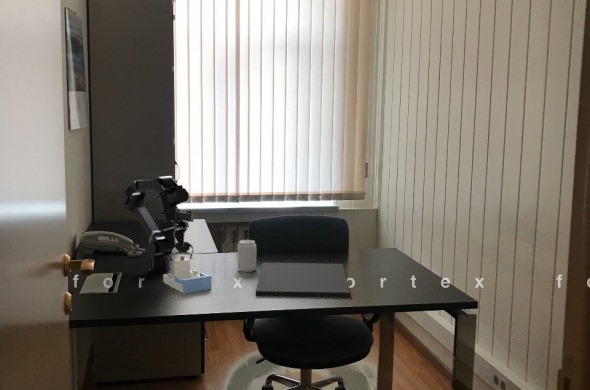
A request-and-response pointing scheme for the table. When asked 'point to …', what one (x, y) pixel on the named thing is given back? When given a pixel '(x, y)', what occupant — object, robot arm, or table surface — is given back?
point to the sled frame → (189, 282)
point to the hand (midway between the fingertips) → (178, 247)
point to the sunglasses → (183, 248)
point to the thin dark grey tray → (302, 280)
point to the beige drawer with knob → (182, 268)
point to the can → (247, 255)
